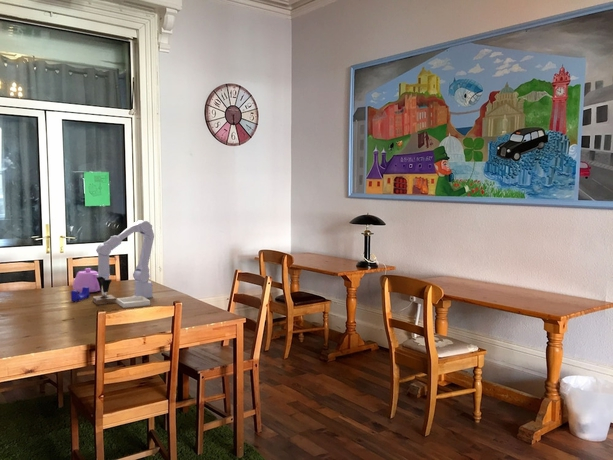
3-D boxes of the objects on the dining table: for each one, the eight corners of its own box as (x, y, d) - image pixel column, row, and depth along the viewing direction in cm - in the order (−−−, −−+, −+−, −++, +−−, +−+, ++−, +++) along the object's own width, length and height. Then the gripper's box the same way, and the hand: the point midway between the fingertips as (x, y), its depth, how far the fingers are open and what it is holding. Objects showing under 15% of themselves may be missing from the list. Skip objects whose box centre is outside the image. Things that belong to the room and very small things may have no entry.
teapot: (118, 290, 327) (118, 267, 326) (87, 295, 309) (86, 272, 308) (95, 285, 339) (95, 264, 338) (64, 291, 321) (63, 268, 319)
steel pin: (106, 301, 296) (106, 285, 295) (107, 302, 294) (107, 285, 293) (101, 301, 295) (101, 285, 294) (102, 302, 293) (102, 286, 292)
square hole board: (111, 299, 301) (111, 294, 301) (116, 302, 293) (116, 298, 293) (92, 301, 296) (92, 296, 296) (96, 304, 288) (96, 300, 287)
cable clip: (82, 297, 306) (81, 286, 306) (89, 297, 305) (89, 287, 305) (68, 301, 294) (68, 290, 294) (76, 302, 294) (76, 291, 293)
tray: (142, 300, 300) (142, 295, 300) (150, 305, 289) (150, 300, 288) (116, 302, 292) (116, 298, 292) (123, 308, 281) (123, 303, 280)
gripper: (93, 265, 296) (93, 289, 298) (99, 268, 285) (99, 293, 286) (106, 264, 300) (106, 288, 302) (113, 267, 288) (113, 292, 290)
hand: (104, 290), depth 294 cm, fingers open, 7 cm apart
